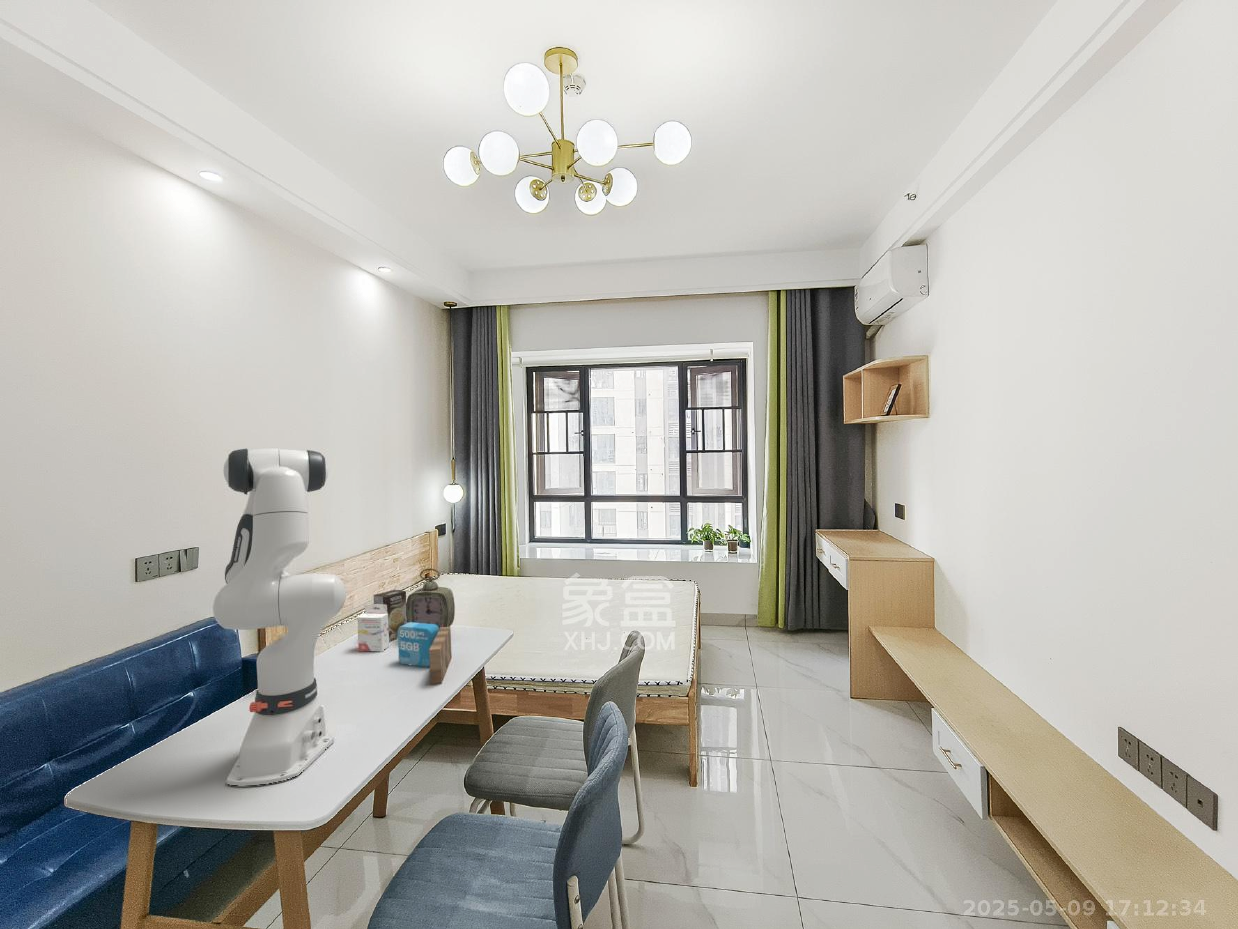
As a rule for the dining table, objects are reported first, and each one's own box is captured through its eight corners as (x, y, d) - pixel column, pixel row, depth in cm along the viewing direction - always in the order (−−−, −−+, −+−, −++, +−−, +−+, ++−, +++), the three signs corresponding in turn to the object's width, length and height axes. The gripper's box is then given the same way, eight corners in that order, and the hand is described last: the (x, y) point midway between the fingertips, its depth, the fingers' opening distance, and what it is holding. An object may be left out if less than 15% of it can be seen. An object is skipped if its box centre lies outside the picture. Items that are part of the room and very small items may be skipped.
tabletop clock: (407, 644, 197) (404, 571, 196) (417, 635, 206) (414, 565, 205) (449, 643, 197) (446, 570, 196) (457, 634, 206) (454, 565, 205)
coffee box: (386, 643, 199) (384, 597, 198) (374, 640, 202) (372, 595, 201) (408, 635, 207) (406, 590, 206) (396, 632, 210) (394, 588, 209)
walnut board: (441, 683, 164) (440, 649, 163) (430, 684, 163) (429, 649, 163) (451, 657, 184) (450, 626, 183) (441, 658, 183) (440, 627, 183)
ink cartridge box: (357, 652, 191) (355, 608, 190) (365, 646, 196) (363, 603, 195) (382, 652, 190) (380, 608, 190) (390, 647, 195) (388, 603, 194)
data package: (398, 664, 179) (397, 626, 179) (408, 659, 184) (406, 621, 183) (431, 667, 176) (430, 629, 175) (440, 662, 180) (439, 624, 180)
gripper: (274, 590, 163) (312, 622, 165) (303, 574, 183) (337, 603, 185) (258, 607, 162) (296, 639, 164) (289, 589, 183) (323, 618, 184)
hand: (318, 620), depth 175 cm, fingers closed
